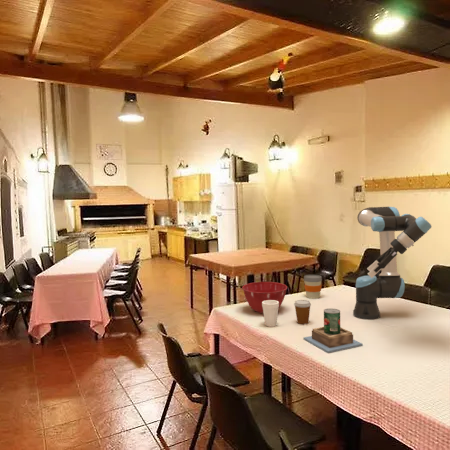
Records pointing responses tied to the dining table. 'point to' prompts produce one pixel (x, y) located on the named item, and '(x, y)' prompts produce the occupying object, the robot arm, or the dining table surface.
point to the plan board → (332, 349)
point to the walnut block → (332, 337)
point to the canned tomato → (332, 321)
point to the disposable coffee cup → (302, 311)
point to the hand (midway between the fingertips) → (369, 273)
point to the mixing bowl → (263, 293)
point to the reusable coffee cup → (312, 286)
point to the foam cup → (270, 312)
